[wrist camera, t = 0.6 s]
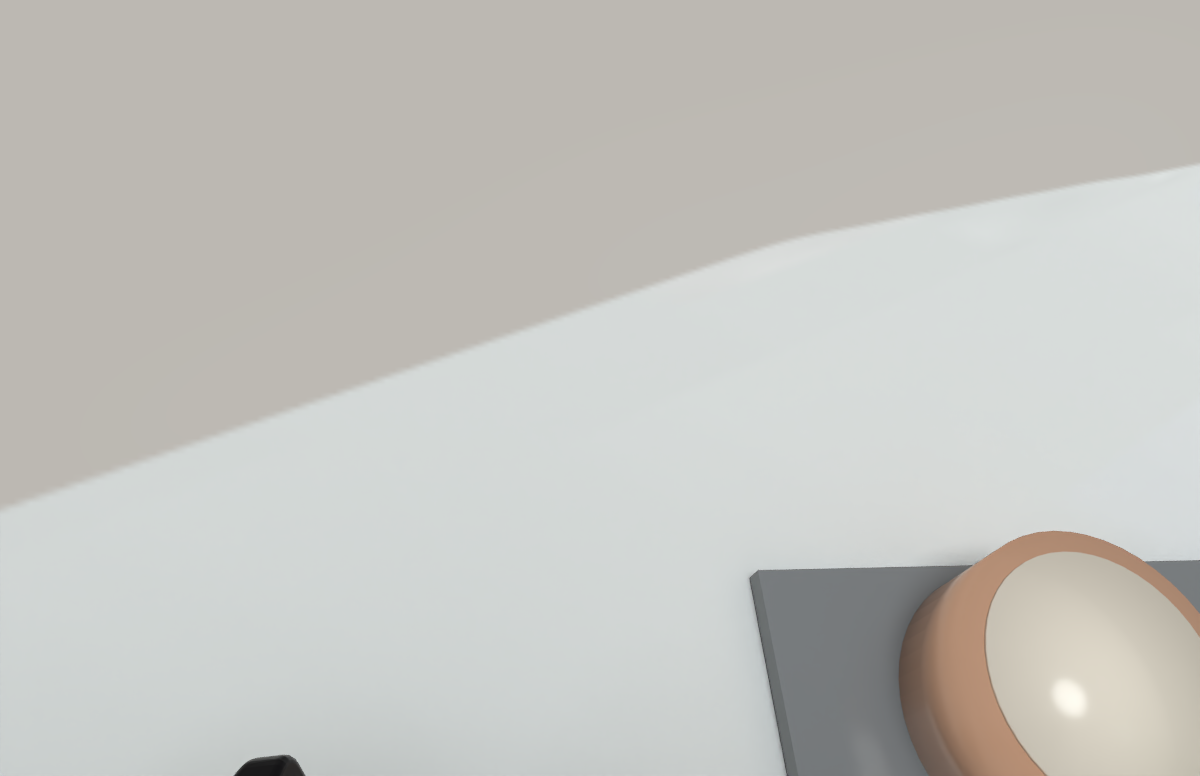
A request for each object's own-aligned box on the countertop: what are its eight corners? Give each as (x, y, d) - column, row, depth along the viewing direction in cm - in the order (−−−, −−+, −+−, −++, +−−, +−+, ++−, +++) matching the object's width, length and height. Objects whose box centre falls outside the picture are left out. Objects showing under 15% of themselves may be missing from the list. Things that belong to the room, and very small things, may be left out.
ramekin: (1207, 853, 25) (1309, 838, 22) (946, 884, 23) (1024, 871, 21) (1100, 569, 29) (1176, 527, 26) (867, 574, 27) (926, 530, 24)
